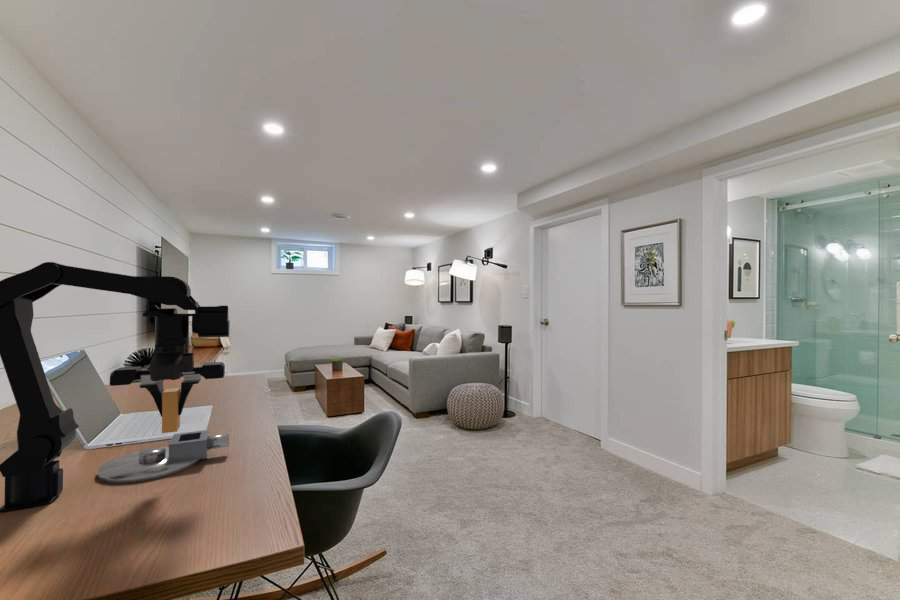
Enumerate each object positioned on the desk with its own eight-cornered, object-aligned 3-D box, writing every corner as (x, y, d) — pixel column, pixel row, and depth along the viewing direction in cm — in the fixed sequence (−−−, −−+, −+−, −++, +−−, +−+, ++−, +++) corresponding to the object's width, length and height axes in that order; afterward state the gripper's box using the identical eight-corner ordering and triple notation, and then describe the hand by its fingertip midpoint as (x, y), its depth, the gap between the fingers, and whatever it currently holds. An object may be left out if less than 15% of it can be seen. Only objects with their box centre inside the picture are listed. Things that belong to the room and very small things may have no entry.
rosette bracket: (85, 490, 77) (85, 463, 77) (111, 459, 92) (111, 436, 93) (227, 467, 88) (228, 443, 88) (229, 442, 104) (229, 422, 104)
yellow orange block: (161, 433, 79) (162, 392, 80) (165, 427, 83) (165, 389, 83) (177, 431, 81) (177, 391, 81) (179, 426, 84) (180, 387, 84)
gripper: (100, 343, 71) (99, 433, 70) (222, 339, 79) (221, 419, 79) (118, 339, 81) (117, 417, 80) (225, 336, 89) (224, 407, 89)
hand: (171, 415), depth 82 cm, fingers closed on yellow orange block, 2 cm apart
